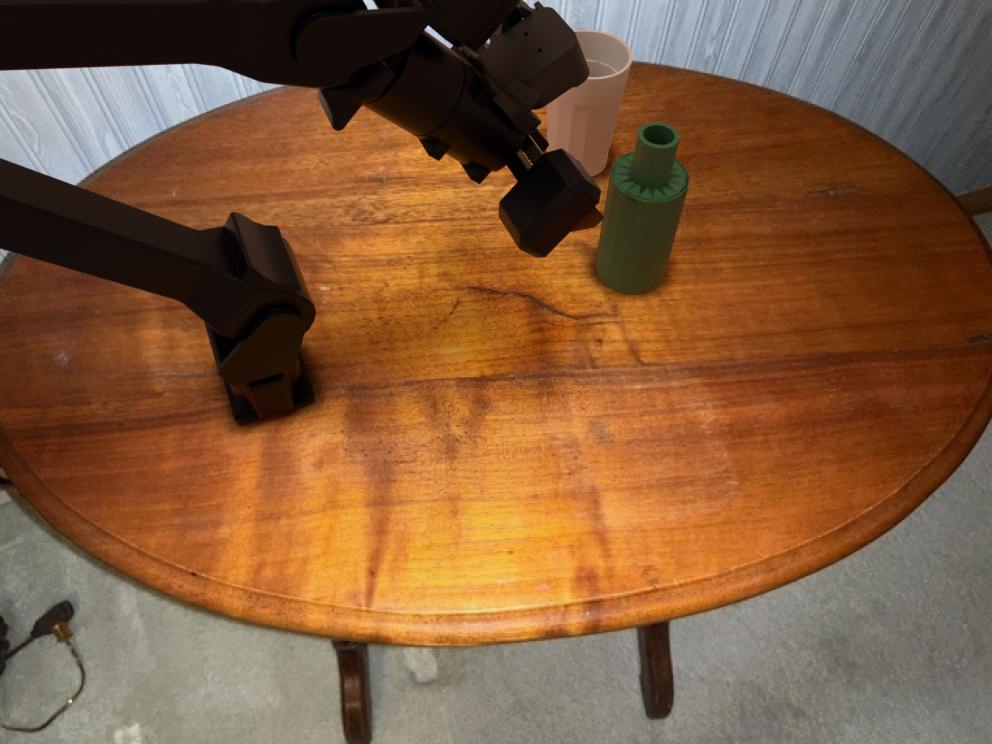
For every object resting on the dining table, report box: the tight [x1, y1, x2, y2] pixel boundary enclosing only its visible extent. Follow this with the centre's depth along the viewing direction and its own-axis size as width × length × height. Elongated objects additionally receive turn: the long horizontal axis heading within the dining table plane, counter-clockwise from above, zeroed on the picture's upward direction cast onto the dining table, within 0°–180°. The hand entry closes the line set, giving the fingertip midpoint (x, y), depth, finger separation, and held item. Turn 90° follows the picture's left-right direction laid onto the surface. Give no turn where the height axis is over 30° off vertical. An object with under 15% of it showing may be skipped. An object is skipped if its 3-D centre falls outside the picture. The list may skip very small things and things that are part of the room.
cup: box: [546, 29, 634, 177], centre depth 80 cm, size 8×8×12 cm
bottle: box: [594, 121, 691, 295], centre depth 70 cm, size 6×6×15 cm
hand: (570, 183), depth 64 cm, fingers open, 9 cm apart
